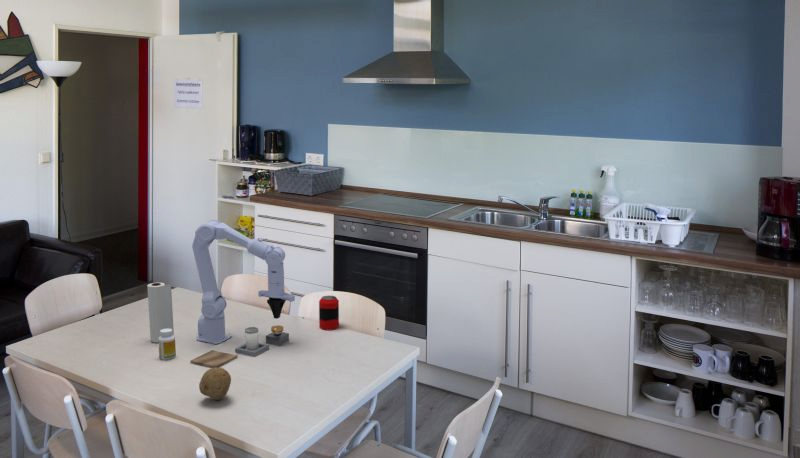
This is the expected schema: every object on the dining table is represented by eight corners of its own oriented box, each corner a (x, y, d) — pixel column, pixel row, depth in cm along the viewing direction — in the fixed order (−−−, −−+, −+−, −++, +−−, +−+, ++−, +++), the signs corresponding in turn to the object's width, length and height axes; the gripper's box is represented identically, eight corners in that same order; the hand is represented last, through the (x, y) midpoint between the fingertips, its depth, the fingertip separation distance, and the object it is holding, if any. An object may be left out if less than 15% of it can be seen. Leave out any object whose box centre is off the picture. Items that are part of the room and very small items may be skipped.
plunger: (268, 336, 250) (268, 328, 250) (275, 333, 254) (275, 324, 253) (278, 338, 248) (278, 330, 248) (285, 334, 252) (285, 326, 252)
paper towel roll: (147, 341, 251) (143, 285, 247) (158, 336, 256) (155, 281, 252) (162, 344, 248) (159, 287, 244) (174, 339, 254) (171, 283, 249)
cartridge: (242, 351, 242) (242, 330, 241) (251, 347, 246) (250, 326, 245) (253, 354, 240) (252, 332, 239) (261, 349, 244) (260, 328, 243)
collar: (235, 352, 241) (234, 348, 241) (250, 345, 249) (249, 341, 248) (254, 356, 238) (254, 352, 237) (269, 348, 245) (269, 344, 245)
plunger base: (265, 343, 250) (265, 335, 250) (275, 338, 256) (275, 330, 255) (279, 346, 248) (279, 338, 247) (289, 341, 253) (288, 333, 253)
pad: (190, 362, 232) (190, 360, 232) (212, 352, 241) (212, 350, 241) (216, 368, 227) (216, 366, 227) (237, 357, 237) (237, 355, 237)
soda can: (337, 330, 265) (337, 300, 263) (318, 330, 265) (317, 300, 263) (339, 324, 272) (339, 294, 270) (320, 323, 272) (320, 294, 270)
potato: (202, 408, 198) (200, 376, 196) (197, 396, 206) (196, 364, 204) (234, 403, 202) (232, 371, 200) (228, 391, 210) (227, 360, 208)
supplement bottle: (179, 355, 238) (177, 328, 236) (169, 361, 233) (167, 333, 231) (166, 353, 240) (164, 326, 238) (156, 358, 235) (154, 331, 233)
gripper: (299, 281, 248) (299, 317, 250) (266, 276, 254) (267, 311, 257) (288, 286, 242) (288, 323, 244) (254, 281, 248) (255, 317, 250)
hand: (276, 317), depth 250 cm, fingers closed
